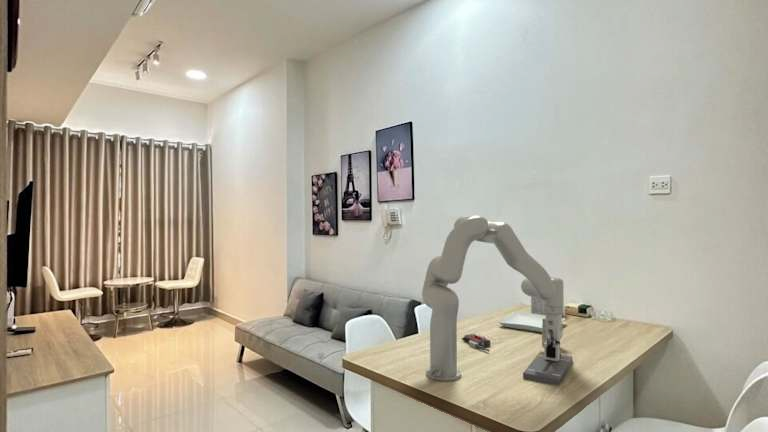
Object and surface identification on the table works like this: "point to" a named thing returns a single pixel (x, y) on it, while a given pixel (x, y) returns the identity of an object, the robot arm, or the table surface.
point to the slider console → (548, 369)
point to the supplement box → (537, 306)
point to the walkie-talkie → (477, 341)
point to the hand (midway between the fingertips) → (553, 354)
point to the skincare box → (543, 332)
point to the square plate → (524, 321)
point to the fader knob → (557, 346)
